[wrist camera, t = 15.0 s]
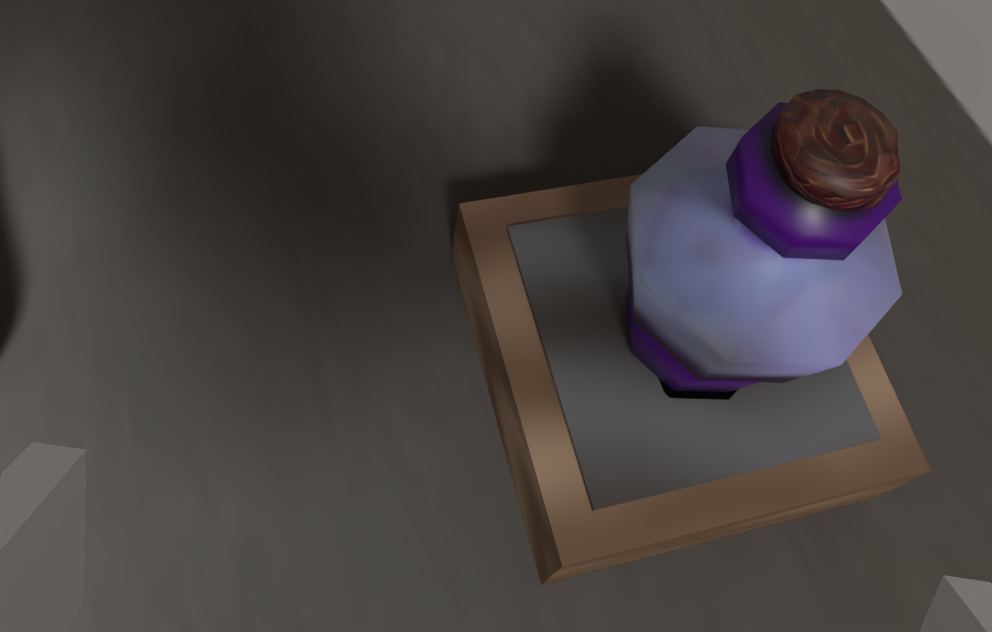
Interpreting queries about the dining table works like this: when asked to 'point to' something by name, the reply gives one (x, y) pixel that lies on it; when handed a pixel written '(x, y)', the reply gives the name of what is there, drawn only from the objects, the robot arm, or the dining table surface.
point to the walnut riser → (646, 400)
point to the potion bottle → (763, 247)
